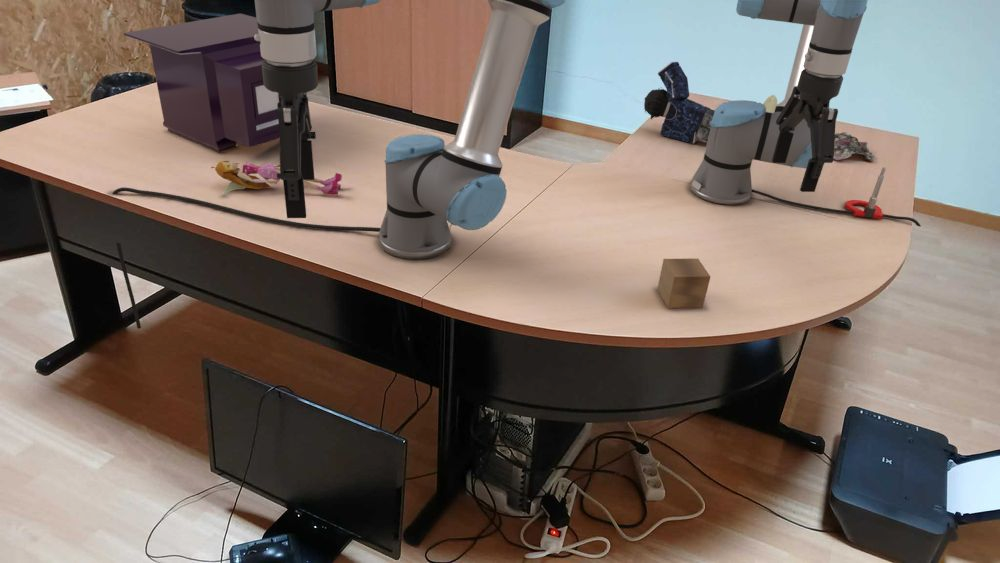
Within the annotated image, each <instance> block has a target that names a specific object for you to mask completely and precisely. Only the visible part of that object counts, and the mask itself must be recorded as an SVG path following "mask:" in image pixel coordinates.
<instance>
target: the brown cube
mask: <svg viewBox="0 0 1000 563" xmlns="http://www.w3.org/2000/svg"><path fill="white" fill-rule="evenodd" d="M710 280H711V275H710V274H709V272H708V271H707V269H706V268H705V266H704V265H703V263H702V262H701V260H700V259H699V258H663V259H662V265H661V270H660V274H659V279H658V283H657V291H658V293H659V295H660V297H661V299H662V300H663V302H664V304H665V306H666V308H667V309H696V308H697V309H699V308H701V309H702V308H704V304H705V301H706V296H707V292H708V289H709V284H710Z"/></svg>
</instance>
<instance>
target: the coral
mask: <svg viewBox="0 0 1000 563" xmlns="http://www.w3.org/2000/svg"><path fill="white" fill-rule="evenodd" d="M853 154H854V155H857V154H859V155H860V156H861V158H863V159H865V160H866V161H871V162H874V160H875V159H874V158H875V155H874V154H873V153H872V152H871V151H870V149H869V147H868V142H867V141H859V139H858V137H855V136H853V135H852V134H851V133H849V132H848V131H846V132H844V131H843V132H835V142H834V159H833V160H835V161H839V160H840V161H841V160H844V159H848V158H851V157H852V155H853ZM873 157H874V158H873Z"/></svg>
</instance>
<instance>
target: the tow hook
mask: <svg viewBox="0 0 1000 563" xmlns="http://www.w3.org/2000/svg"><path fill="white" fill-rule="evenodd" d="M886 170H887V168H886V167H884V166H883V167H882V168H881V171H880V174H879V175H878V177H877V179H876V183H875V185H874V189H873V191H872V194H871V196H870V198H869V200H868V201H866V200H860V199H850V200H846V202H845V204H844V206H845V208H846V209H847V210H848V211H854V213H853V214H852V215H853V216H855V217H863V218H868V219H878V220H879V219H880V220H882V219H883V218H884V217H883V214H884V213H883V212H882V208H881V207H880V206H878V205H877V201H878V195H879V192H880V189H881V187H882V184H883V181H884V179H885V178H884V177H885V176H884V175H885V172H886ZM856 205H857V206H864V209H863V210H862V209H860V208H858V207H856Z"/></svg>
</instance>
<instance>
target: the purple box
mask: <svg viewBox="0 0 1000 563" xmlns="http://www.w3.org/2000/svg"><path fill="white" fill-rule="evenodd" d="M255 34H259V33H258V24H257V17H256V16H255V17H254V16H252V15H247V14H244V13H235V14H230V15H224V16H217V17H212V18H205V19H200V20H194V21H188V22H181V23H175V24H169V25H163V26H157V27H151V28H146V29H145V28H144V29H139V30H134V31H128V32H123V36H125V37H127V38H130V39H133V40H136V41H138V42H142V43H145V44H148V45H149V50H150V54H151V60H152V66H153V71H154V75H155V76H154V77H155V82H156V87H157V92H158V97H159V102H160V107H161V113H162V118H163V122H162V126H163V127H165V128H166V129H167V131H168V132H170V133H172V134H175V135H177V136H179V137H182V138H184V139H187V140H189V141H191V142H193V143H196V144H197V145H200V146H203V147H205V148H207V149H209V150H212V151H215V152H217V153H219V154H220V153H224V152H227V151H229V150H233V149H235V148H237V144H240V145H242V146H245V147H247V148H249V149H250V148H253V147H256V146H259V145H262V144H266V143H269V142H271V141H275V140H279V120H278V113H277V104H278V102H280V97H281V95H280V94H279V93H277V92H272V91H270V90H268V89H267V88H266V87H265V86H264V82H263V73H262V62H263V61H264V60H265V59H264V58H262V57H261V51H260V44H261V42H260V41H256V40H255V39H254V37H255ZM306 93H308V92H306Z"/></svg>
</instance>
